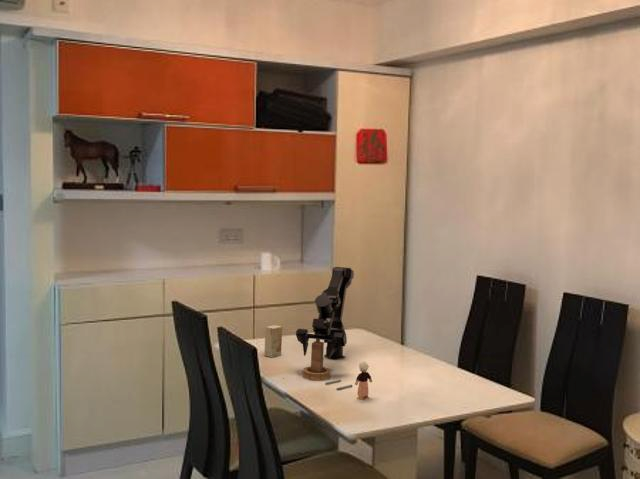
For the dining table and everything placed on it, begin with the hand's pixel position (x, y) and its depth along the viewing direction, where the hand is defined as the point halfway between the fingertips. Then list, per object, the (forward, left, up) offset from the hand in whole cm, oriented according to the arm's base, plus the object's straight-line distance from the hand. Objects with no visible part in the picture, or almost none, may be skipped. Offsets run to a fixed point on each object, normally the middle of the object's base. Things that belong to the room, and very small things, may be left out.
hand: (316, 356), depth 260 cm
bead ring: (-1, -1, -8) cm, 8 cm away
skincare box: (-5, -34, -8) cm, 35 cm away
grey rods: (-1, +12, -8) cm, 14 cm away
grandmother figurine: (+2, +27, -8) cm, 28 cm away
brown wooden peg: (-1, -1, -8) cm, 8 cm away
